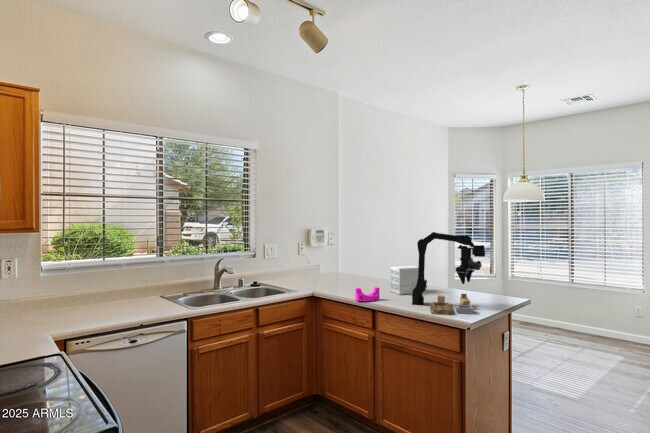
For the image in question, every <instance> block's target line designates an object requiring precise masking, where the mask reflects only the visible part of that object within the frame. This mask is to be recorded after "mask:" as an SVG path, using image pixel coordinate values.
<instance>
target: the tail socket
mask: <svg viewBox="0 0 650 433" xmlns="http://www.w3.org/2000/svg"><path fill="white" fill-rule="evenodd" d="M454 306H455V312H456V314H458V315H459V314H462V315H474V307H473V306H472V305H471V304H470V305H460V304H455V305H454Z"/></svg>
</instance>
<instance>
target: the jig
mask: <svg viewBox="0 0 650 433" xmlns="http://www.w3.org/2000/svg"><path fill="white" fill-rule="evenodd" d="M429 310H430V313H431V315H447V316H455V312H454V310H453V307H452V305H450V303H449V302H446V301H445V302H438V301H432V304H429Z"/></svg>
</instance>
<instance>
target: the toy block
mask: <svg viewBox="0 0 650 433" xmlns="http://www.w3.org/2000/svg"><path fill="white" fill-rule="evenodd" d="M354 292H355V293H354V295H355V297H354V298H355V300H356V301H357V302H373V301H378V300H380V287H378V286H375V287H374V288H373V290H372V292H370V293H368V294H367V293H363V291H362V288H361V287H355V290H354Z"/></svg>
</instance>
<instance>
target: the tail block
mask: <svg viewBox="0 0 650 433" xmlns="http://www.w3.org/2000/svg"><path fill="white" fill-rule="evenodd" d="M437 302H445V303H446V298H445V295H437Z"/></svg>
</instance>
